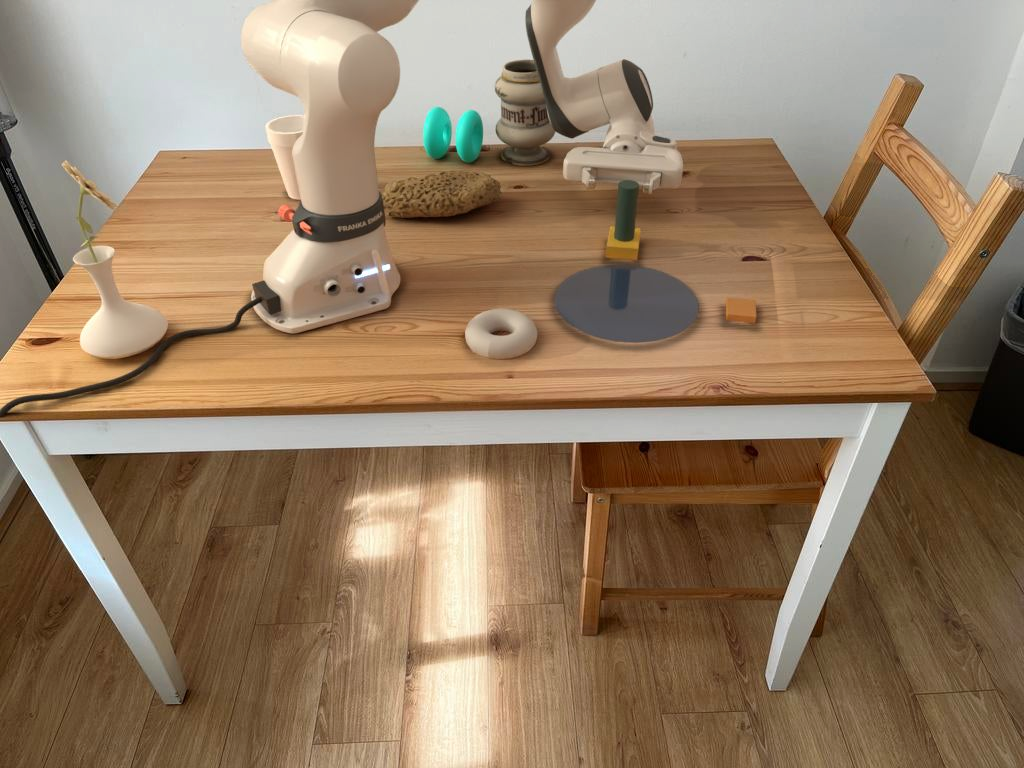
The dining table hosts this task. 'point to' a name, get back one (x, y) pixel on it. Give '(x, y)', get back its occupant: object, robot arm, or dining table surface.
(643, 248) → the dining table surface
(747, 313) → the orange block
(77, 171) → the flower in vase
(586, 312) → the plate
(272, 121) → the foam cup
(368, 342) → the dining table surface
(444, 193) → the sponge
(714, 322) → the dining table surface
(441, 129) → the donuts
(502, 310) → the donut
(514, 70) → the apothecary jar
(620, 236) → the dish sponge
